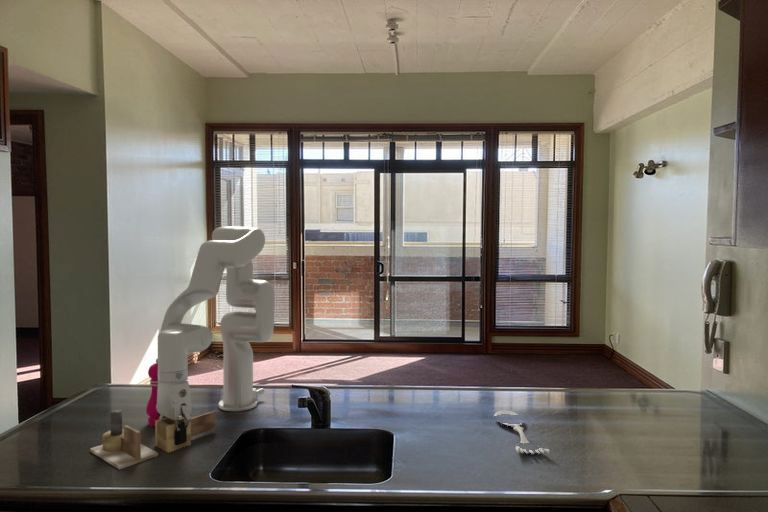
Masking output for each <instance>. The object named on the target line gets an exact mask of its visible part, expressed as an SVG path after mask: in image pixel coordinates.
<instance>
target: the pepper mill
mask: <svg viewBox="0 0 768 512" xmlns="http://www.w3.org/2000/svg"><path fill="white" fill-rule="evenodd" d="M147 374H148V376H149V378H150V380H149V382H150V383H149V385H150V386H151V394H150V398H149V400H148V402H147V404H146V407H145V408H146V411H145V412H146V415H148V416H149V417H148V418H147V424H148V426H149V425H150V426H149V427H152V426H155V421H157V420H159V416H158V411H157V409H156V405H157V391H158V357H157V358H156V359H155V363H153V364H151V366H149V368H148V372H147Z"/></svg>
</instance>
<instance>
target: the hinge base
mask: <svg viewBox="0 0 768 512" xmlns="http://www.w3.org/2000/svg"><path fill="white" fill-rule="evenodd" d="M109 415H110V419H109V420H110V425H109V426H110V430H108V431H106V432H104V433H103V434H102V436H101V437H102V444H101V445H97V446H94V447H91V448H90V449H89V451H90V452H91V453H92V454H94V455H95V456H96V457H99V458H100V459H102V460H103V461H105V462H107V463H108V464H110V465H112V466H113V467H115V468H116V469H118V470H122V469H125V468H127V467H131V466H133V465H137V464H139V463H142V462H146V461H147V459H148V460H150V458H151V459H154V458H156V457H158V456H159V452H157V451H156V450H154V449H152V448H150V447H148V446H146V445H144V444H142V442H141V441H142V440H141V437H142V436H141V431H140V430H137V429H136V428H134V427H131V426H130V425H129V424H128V425H127V424H126V425H123V410H121V409H115V410H111V411H110V413H109ZM153 457H154V458H153Z"/></svg>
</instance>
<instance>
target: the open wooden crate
mask: <svg viewBox="0 0 768 512" xmlns="http://www.w3.org/2000/svg"><path fill="white" fill-rule="evenodd" d="M180 417H182V416H181V415H180V416H178V418H180ZM181 422H182V420H179V425H180V423H181ZM154 429H155V430H154V435H155V436H154V437H155V439H154V440H155V442H154V443H155V447H156V446H157V447H156V448H158V447H159V449H160V448H161V449H160V450H162V451H164V452H166V453H168V454H169V452H170V453H171V451H172V452H174V450H175V451H177V449H178V450H181V449H183V448H182V447H184V448H186V447H185V446H187V447H189V446H191V445H192V437H193V436H196V435H200V434H202V433H205V432H209V431H211V430H214V429H216V411H215V410H212V411H209V412H205V413H202V414H200V415H196V416H193V417H192V416H191V421H190V422H189V425H188V428H187V441H186V442H185V443H182V444H179V445H175V430H176V427H175V422H174V420H172V419H170V418H168V417H167V418H163V419H160V420H157V421H155V428H154ZM188 445H189V446H188ZM180 448H181V449H180Z"/></svg>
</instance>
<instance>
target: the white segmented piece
mask: <svg viewBox="0 0 768 512" xmlns="http://www.w3.org/2000/svg"><path fill="white" fill-rule="evenodd" d="M501 414H510V415H519V414H518V413H516V412H514V411H511V410H507V409H506V410H499V411H497V412H495V413H494V415H493V417H494V416H497V415H501ZM503 424H505V425H507V426H506V427H508V426H511V428H513V430H514V431H515V432H517V433H518V435H519V437H520V442H519V444H520V443H523V444H524V443H530V441H529V440H528V438H527V437H526V435H525V432H524V427H522V424H521V423H520V424H508V423H503ZM520 425H521V426H520ZM538 450H539V451H540V452H541V453H540V452H539V451H538ZM515 451H516V453H517V454H519V453H521V454H525V453H526V455H528V454H529V453H528V452H527V451H526V449H522V448H520V447H519V446H517V445H516V446H515ZM519 451H520V452H519ZM523 451H524V452H525V453H524V452H523ZM535 451H536V452H537V453H538V454H537V455H540V454H542V453H543V454H545V453H544V452H546V454H549V455H550V452H551V451H550V449H549V448H543V447H541V448H539V449H537V450H535ZM529 452H530V453H531V454H530V455H534V454H535V453H534V452H533V451H532V450H529ZM543 454H542V455H543Z"/></svg>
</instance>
